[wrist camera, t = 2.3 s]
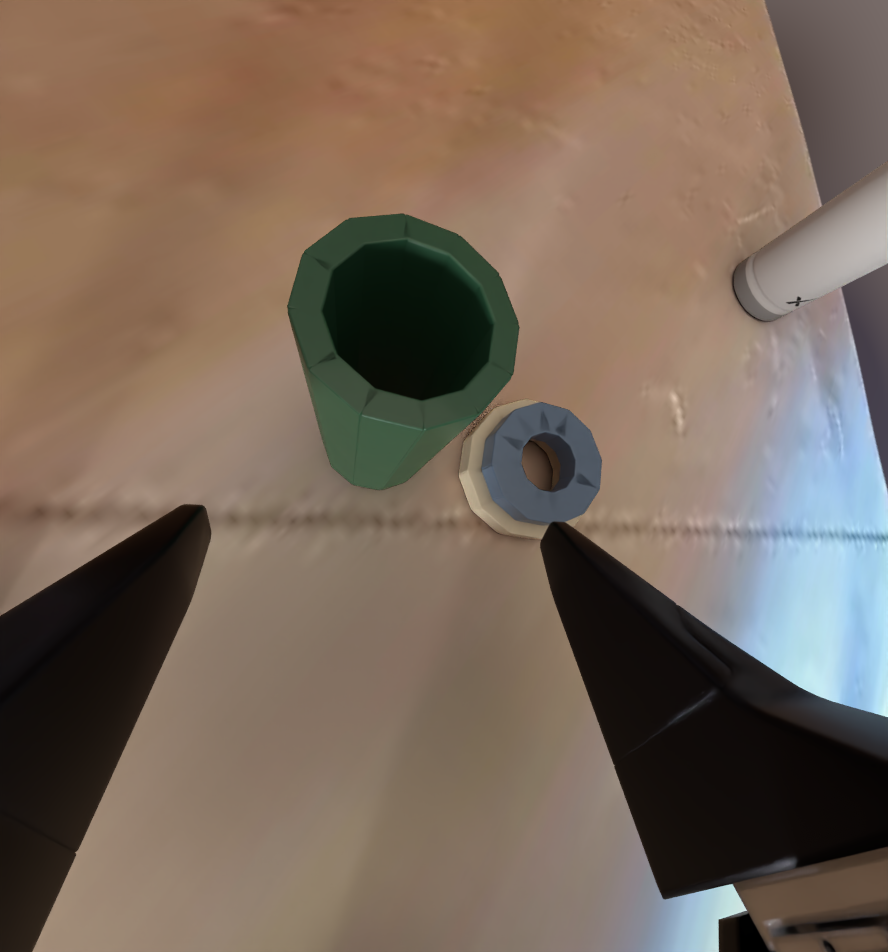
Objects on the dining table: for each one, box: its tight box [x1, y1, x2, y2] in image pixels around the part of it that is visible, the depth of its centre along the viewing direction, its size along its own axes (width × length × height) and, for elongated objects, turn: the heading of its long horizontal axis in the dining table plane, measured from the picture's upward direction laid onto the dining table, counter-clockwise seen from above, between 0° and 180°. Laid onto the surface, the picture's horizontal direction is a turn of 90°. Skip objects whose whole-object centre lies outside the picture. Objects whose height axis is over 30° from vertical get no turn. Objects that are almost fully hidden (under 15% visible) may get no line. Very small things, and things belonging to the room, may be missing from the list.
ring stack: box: [459, 399, 602, 540], centre depth 22 cm, size 9×9×3 cm
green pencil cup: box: [287, 214, 519, 490], centre depth 15 cm, size 6×6×12 cm
